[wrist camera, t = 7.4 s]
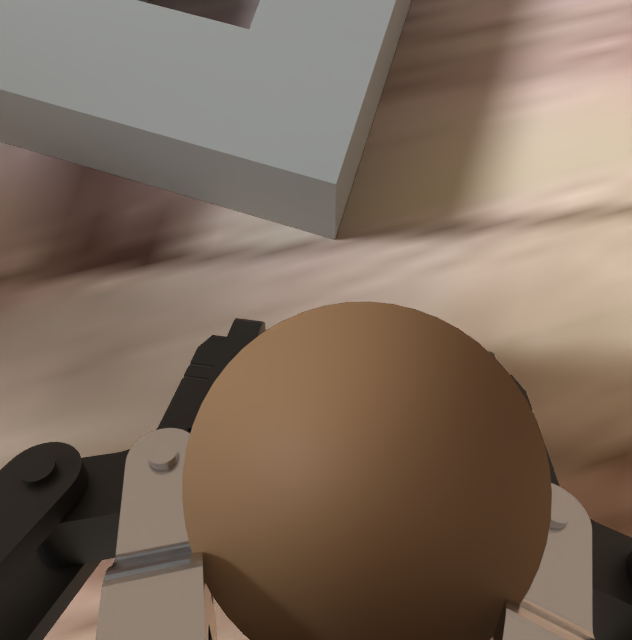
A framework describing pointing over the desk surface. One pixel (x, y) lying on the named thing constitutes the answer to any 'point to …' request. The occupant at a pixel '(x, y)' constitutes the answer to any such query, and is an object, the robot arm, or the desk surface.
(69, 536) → the robot arm
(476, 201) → the desk surface
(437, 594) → the peg
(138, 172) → the socket block
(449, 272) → the desk surface
